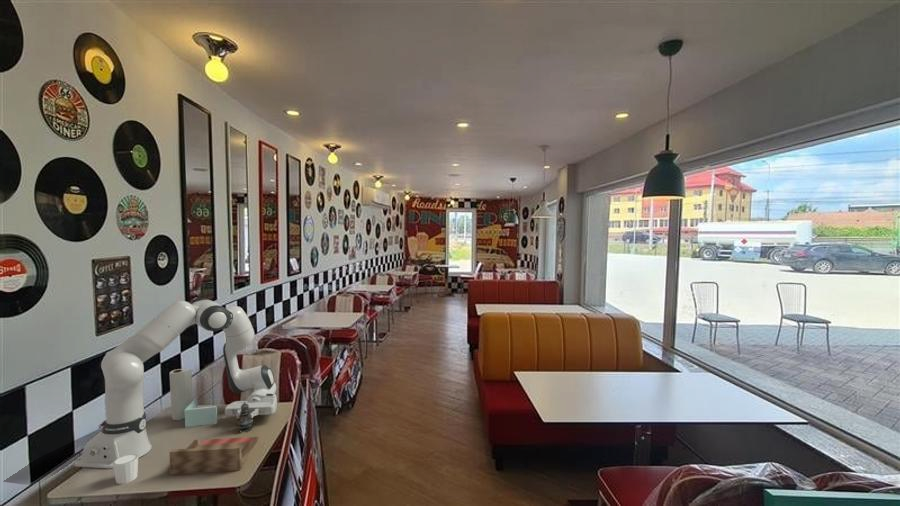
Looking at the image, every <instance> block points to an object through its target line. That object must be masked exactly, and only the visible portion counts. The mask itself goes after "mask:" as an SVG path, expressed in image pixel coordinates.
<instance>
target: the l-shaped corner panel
mask: <svg viewBox="0 0 900 506" xmlns="http://www.w3.org/2000/svg"><path fill="white" fill-rule="evenodd" d="M217 409H218V407H217V405H214V406H205V407H198V397H196V398H193V401H192V402H191V403H190V404H189V405H188V407H187V408H186V409H185V410H184V413H185V418H184V425H185V428H190V427H189V426H193V427H198V426H197V425H202V426H208V425H207V424H210V425H214V424H213V423H217V424H218V410H217Z"/></svg>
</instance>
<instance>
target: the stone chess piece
mask: <svg viewBox="0 0 900 506" xmlns="http://www.w3.org/2000/svg"><path fill="white" fill-rule="evenodd" d="M249 413H250V411H249V406H248V404H246V403H245V402H244V404H242V405H241V413H240V414H241V418H240V419H239V420H238V421H237V425H238V427H239V429H240V431H241V432H246V433H248V431H249V432H251V431H252V430H253V429H252V428H254V427H253V426H252V424H253V422H254V419H253V418H248V417H249V416H248V414H249ZM250 430H251V431H250Z"/></svg>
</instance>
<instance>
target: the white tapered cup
mask: <svg viewBox="0 0 900 506" xmlns="http://www.w3.org/2000/svg"><path fill="white" fill-rule="evenodd" d="M112 464H113V468H112V470H113V473H114V478H115V483H116V484H117V485H125V484H128V483H131V482H132V481H134V480H135V479H137V477H138V471H139V470H138V469H139V468H138V466H139V458H138V455H137V454H128V455H124V456H121V457H119V458H117V459H116V460H114V461H113V463H112Z"/></svg>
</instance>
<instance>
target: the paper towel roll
mask: <svg viewBox="0 0 900 506" xmlns="http://www.w3.org/2000/svg"><path fill="white" fill-rule="evenodd" d="M192 374H193V373H192V369H188V370H186V369H185V368H178V369H173V370H171V371H170V372H169V374H168V375H169V388H170V389H169V390H170V407H171V420H173V421H180V420H183V419H184V420H185V413H184V410H185V409H186V408H187V407H188V405H189V404H190V403H191V402H192V401H193V400H194V398H193V397H194V396H193V392H194V391H193V378H192Z"/></svg>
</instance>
